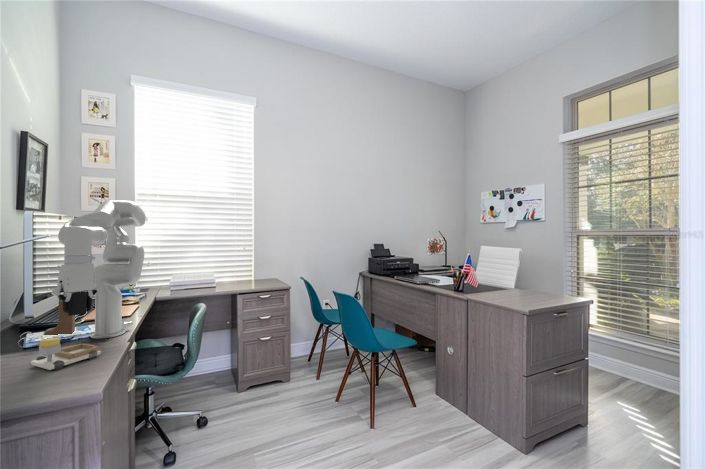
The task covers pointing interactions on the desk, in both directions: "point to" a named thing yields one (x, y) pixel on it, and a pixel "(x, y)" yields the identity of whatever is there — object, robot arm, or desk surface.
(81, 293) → the ink cartridge
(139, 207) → the robot arm
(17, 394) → the desk surface
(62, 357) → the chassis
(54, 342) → the yellow white block
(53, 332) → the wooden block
